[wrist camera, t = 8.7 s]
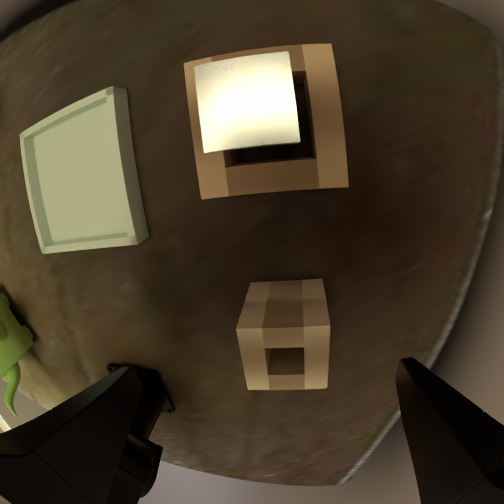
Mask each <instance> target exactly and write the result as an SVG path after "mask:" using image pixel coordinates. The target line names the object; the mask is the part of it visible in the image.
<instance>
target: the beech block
mask: <svg viewBox="0 0 504 504" xmlns="http://www.w3.org/2000/svg"><path fill="white" fill-rule="evenodd" d="M236 331H237V336H238V342H239V347H240V352H241V357H242V363H243V368H244V373H245V378H246V383H247V388H248V390H300V389H322V388H327V381H328V365H329V346H330V320H329V314H328V308H327V302H326V296H325V291H324V285H323V279H308V280H291V281H271V282H251V283H250V286H249V289H248V292H247V296H246V299H245V302H244V305H243V308H242V311H241V315H240V318H239V321H238V324H237V327H236Z"/></svg>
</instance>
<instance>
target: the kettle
mask: <svg viewBox="0 0 504 504" xmlns="http://www.w3.org/2000/svg"><path fill="white" fill-rule="evenodd" d="M9 307H10V303H9V300H8V298H7V296H6V295H5V294H4V293H1V295H0V380H1V378H2V377H3V376H4V375H5V374H6V376H7V379H8V386H7V389H6V392H5V396H4V400H5V404H6V406H7V407H8V408H9V410H10V411H11V412H12V413H13V414H14V415H15V416H16V417H17V415H16V413H15V410H14V407H13V398H14V395H15V392H16V389H17V387H18V384H19V381H20V374H21V372H20V367H19V364H18V361H19V360H20V359H21V357H22V356H23V355H24V354H25V353H26V352H27V351H28V350H29V349H30V348H31V346H32V345H33V344H34V342H33V341H32V340H31V339H33V335H32V333H31V331H30V330H29V329H28V328H27V327H26V326H25V325H23V326H21V325H20V323H19V322H18V321H17V319H16V318H15V316H14V315H13V313H12V312H11V310H10V309H9Z"/></svg>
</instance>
